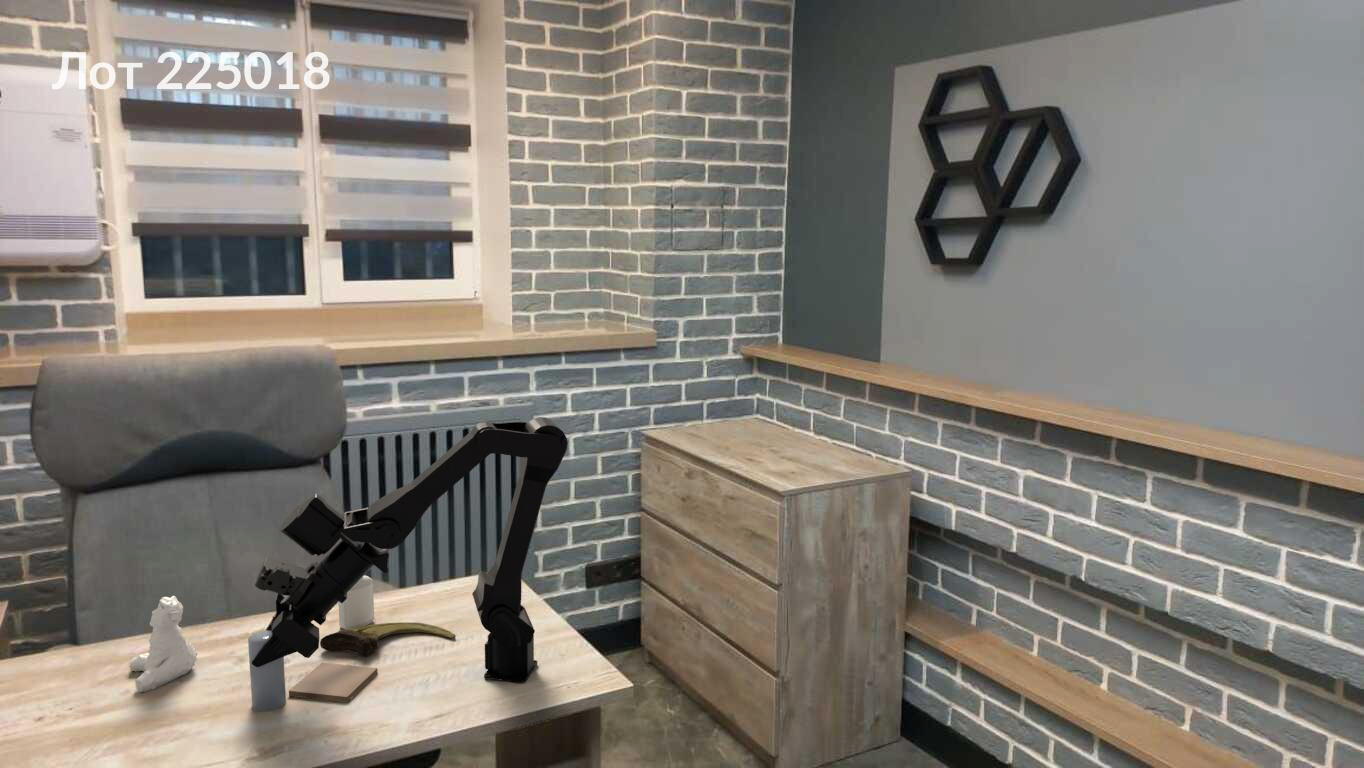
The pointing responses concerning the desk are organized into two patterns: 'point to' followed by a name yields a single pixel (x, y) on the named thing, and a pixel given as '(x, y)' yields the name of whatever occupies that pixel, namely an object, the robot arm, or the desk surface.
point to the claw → (374, 636)
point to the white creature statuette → (164, 648)
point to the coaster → (333, 682)
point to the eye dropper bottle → (357, 605)
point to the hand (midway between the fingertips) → (255, 657)
